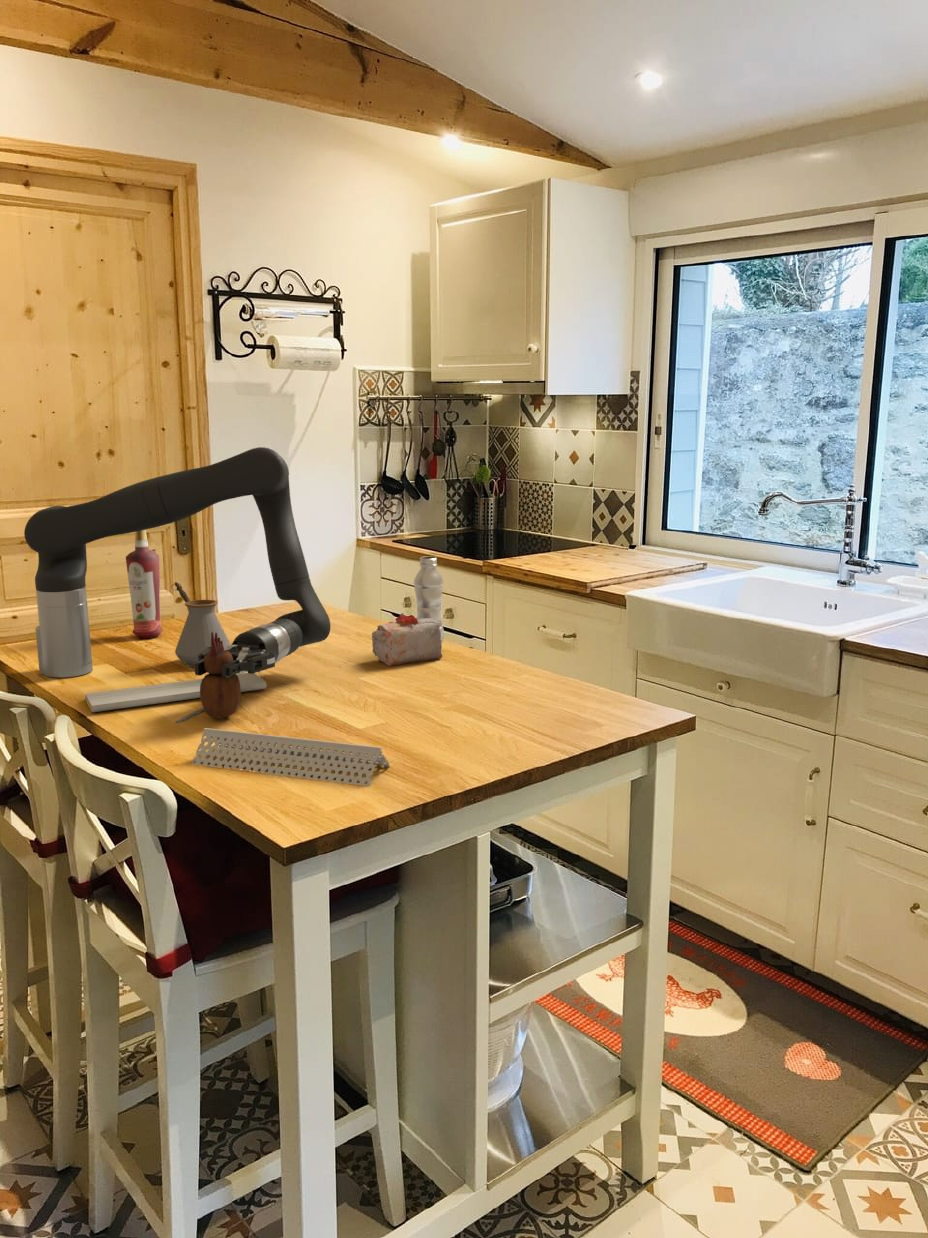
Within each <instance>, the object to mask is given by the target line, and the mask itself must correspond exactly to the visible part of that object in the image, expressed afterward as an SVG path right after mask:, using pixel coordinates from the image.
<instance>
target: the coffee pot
mask: <svg viewBox="0 0 928 1238" xmlns="http://www.w3.org/2000/svg"><path fill="white" fill-rule="evenodd" d="M173 586H175V588H176V591H177V592H179V595H180V597H181V598H182V600H183V601H184V606H185V607H186V608H187V612H188V615H187V616H186V620H185V623H184V626H183V629H182V631H181V634H180V637H179V639H178V642H177V644H176V648H175V650H174V653H175V655H176V657H177V658H178V659H179V660H180V661H181V662H182V663H184V664H185V666H186V667H191V668H194V664H195V663H196V662H198V654H199V653H201V652H202V651H203V650H204V649H206V648H207V647H211V632H213V635H214V639H215V633H217V636H218V638H220V641H222V642H223V646H224V648H227V647H228V646H230V645H232V643H230V641H229V638H228V637H227V634H226V632H225V630H224V628H223V626H222V625H221V622H220V620H219V619H218V617H217V614H216V613H215V609H216V606H217V604H218V600H214V599H196V600H195V599H194V600H190V597H189V595H188V594H187V592H186V591H185V590H184V589H183V587H182V584H181V583H179V582H177V581H175V582H174V583H173V584H171V586H170V588H171V590H173V591H175V589H174V588H172V587H173Z"/></svg>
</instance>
